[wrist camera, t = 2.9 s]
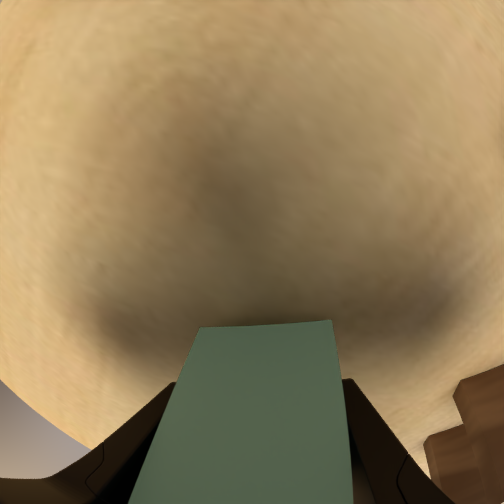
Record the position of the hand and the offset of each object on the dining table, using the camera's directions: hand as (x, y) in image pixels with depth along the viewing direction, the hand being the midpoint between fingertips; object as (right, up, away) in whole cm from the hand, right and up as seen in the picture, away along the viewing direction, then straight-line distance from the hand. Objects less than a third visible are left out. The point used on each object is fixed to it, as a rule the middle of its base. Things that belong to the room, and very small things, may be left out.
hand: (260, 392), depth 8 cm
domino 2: (+15, -4, +3) cm, 16 cm away
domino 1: (0, +1, +2) cm, 3 cm away
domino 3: (+16, -10, +6) cm, 20 cm away
